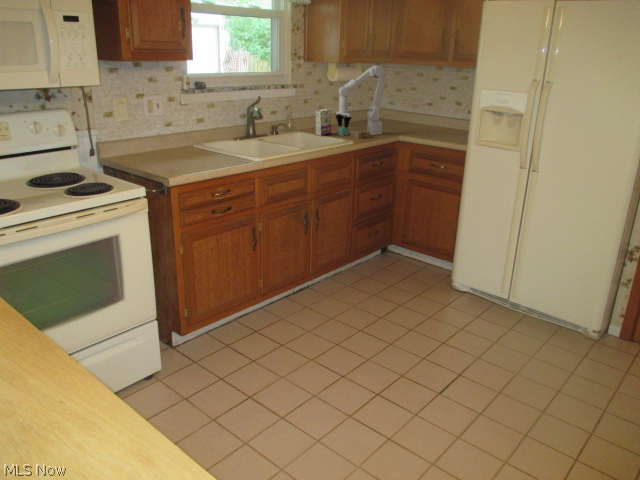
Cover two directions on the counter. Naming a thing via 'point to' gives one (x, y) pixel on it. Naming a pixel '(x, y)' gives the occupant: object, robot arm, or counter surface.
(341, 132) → the teal cube
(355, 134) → the walnut block
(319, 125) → the candy bar box
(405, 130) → the counter surface
